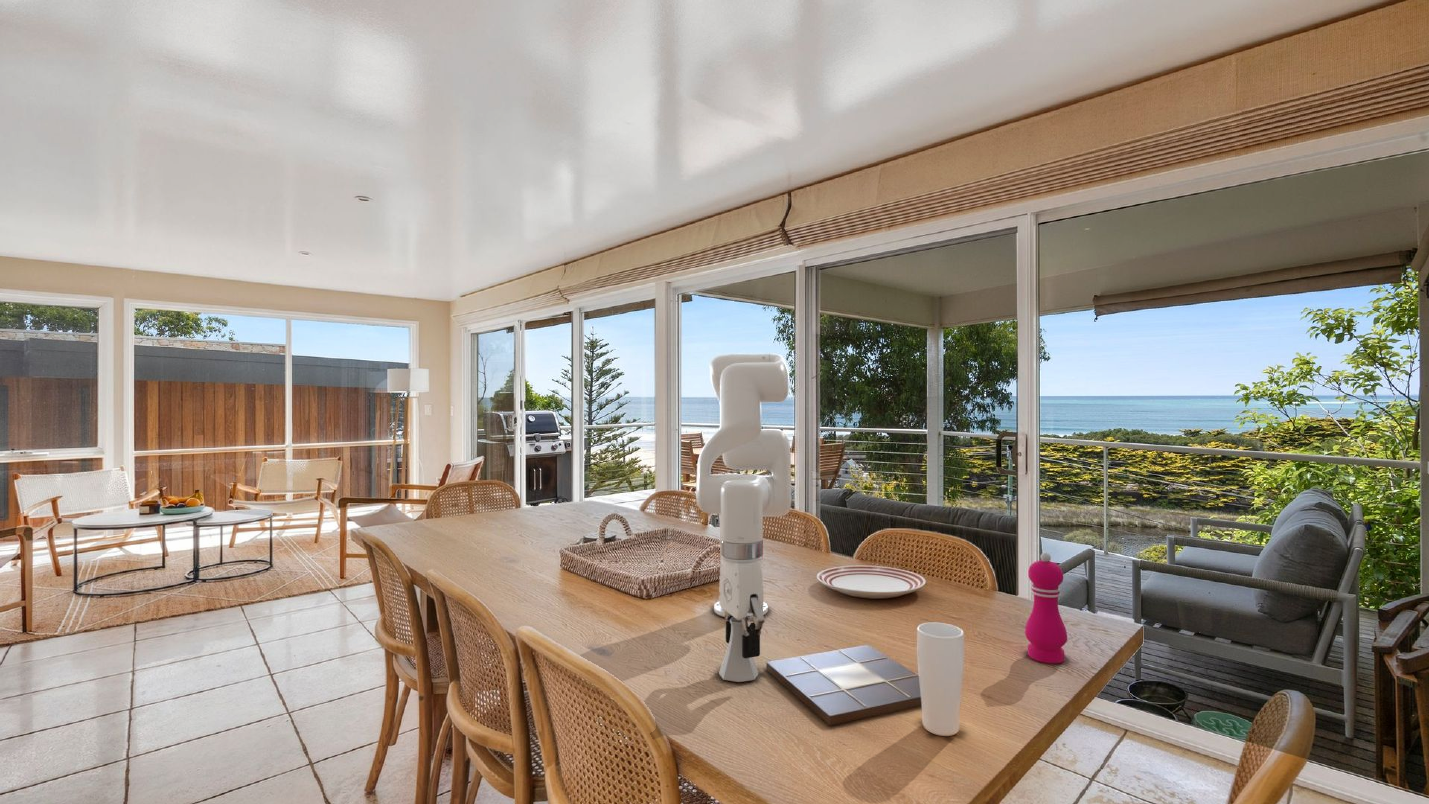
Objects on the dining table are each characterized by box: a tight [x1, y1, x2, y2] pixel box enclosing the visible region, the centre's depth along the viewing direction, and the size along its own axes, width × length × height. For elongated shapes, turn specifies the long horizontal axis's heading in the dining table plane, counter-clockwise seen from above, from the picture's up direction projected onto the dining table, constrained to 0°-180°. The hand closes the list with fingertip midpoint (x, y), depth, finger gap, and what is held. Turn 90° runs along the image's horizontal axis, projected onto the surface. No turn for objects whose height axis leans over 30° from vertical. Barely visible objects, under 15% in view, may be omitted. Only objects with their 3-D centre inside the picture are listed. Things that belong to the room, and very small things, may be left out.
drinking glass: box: [916, 621, 965, 737], centre depth 98 cm, size 7×7×15 cm
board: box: [765, 644, 922, 727], centre depth 114 cm, size 22×22×2 cm
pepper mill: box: [1024, 552, 1068, 664], centre depth 125 cm, size 7×7×20 cm
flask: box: [718, 617, 760, 683], centre depth 118 cm, size 7×7×10 cm
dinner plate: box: [816, 565, 927, 599], centre depth 170 cm, size 27×27×3 cm
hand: (742, 648), depth 117 cm, fingers open, 6 cm apart
